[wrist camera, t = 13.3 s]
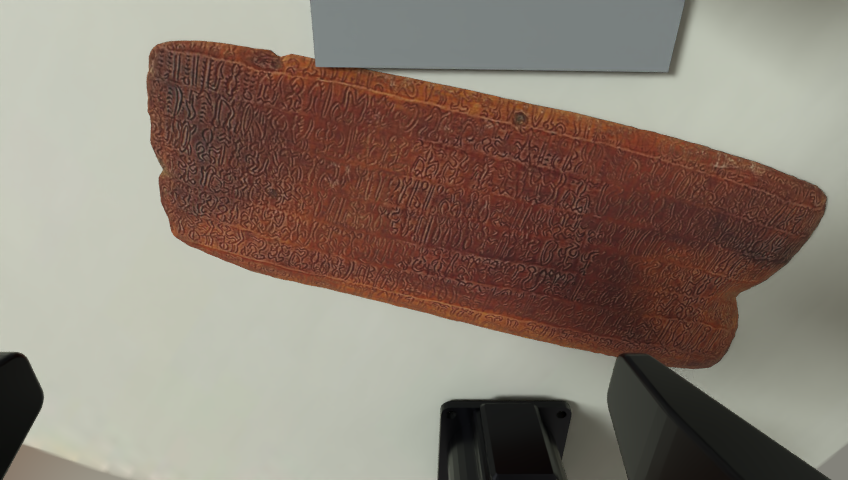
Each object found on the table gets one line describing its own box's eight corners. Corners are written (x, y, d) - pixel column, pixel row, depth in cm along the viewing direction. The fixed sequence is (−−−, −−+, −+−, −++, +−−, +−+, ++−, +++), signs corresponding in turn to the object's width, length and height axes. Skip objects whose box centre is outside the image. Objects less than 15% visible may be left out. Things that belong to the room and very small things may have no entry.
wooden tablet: (827, 177, 20) (861, 191, 18) (703, 360, 24) (722, 384, 23) (153, -10, 16) (127, -10, 15) (150, 245, 20) (130, 265, 19)
